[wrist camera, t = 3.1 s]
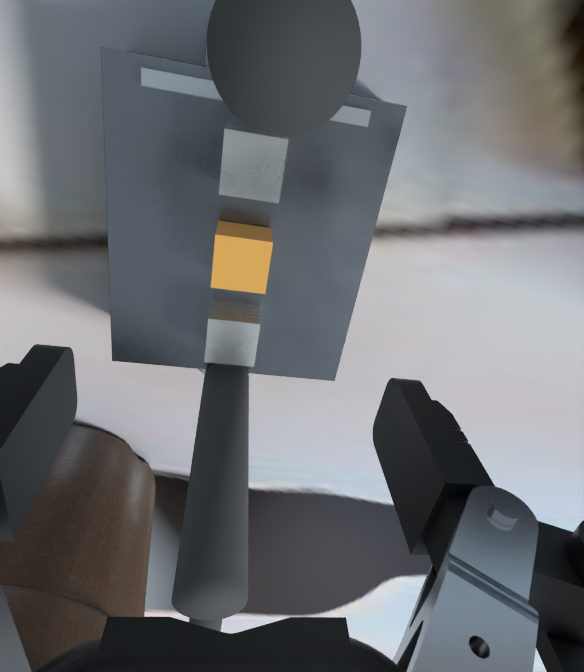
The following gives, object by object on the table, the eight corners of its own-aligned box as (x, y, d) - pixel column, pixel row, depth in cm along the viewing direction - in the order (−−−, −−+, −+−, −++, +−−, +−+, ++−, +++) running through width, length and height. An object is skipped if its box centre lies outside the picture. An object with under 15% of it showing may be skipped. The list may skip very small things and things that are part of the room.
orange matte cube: (271, 227, 20) (273, 242, 19) (264, 276, 22) (265, 294, 20) (218, 220, 20) (215, 234, 18) (213, 270, 21) (210, 287, 20)
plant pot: (190, 402, 30) (140, 681, 16) (185, 550, 38) (149, 822, 24) (-75, 387, 28) (-390, 696, 14) (-21, 548, 36) (-189, 846, 22)
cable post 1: (274, 310, 27) (300, 553, 13) (254, 429, 32) (258, 699, 18) (190, 300, 26) (128, 548, 13) (183, 424, 31) (130, 702, 17)
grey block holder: (382, 100, 22) (423, 109, 17) (324, 343, 29) (340, 403, 24) (126, 51, 20) (83, 44, 15) (129, 323, 27) (101, 383, 22)
